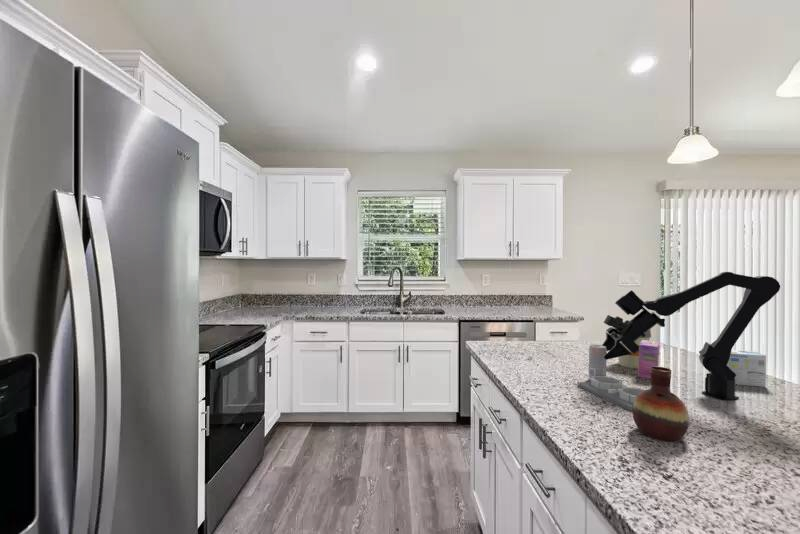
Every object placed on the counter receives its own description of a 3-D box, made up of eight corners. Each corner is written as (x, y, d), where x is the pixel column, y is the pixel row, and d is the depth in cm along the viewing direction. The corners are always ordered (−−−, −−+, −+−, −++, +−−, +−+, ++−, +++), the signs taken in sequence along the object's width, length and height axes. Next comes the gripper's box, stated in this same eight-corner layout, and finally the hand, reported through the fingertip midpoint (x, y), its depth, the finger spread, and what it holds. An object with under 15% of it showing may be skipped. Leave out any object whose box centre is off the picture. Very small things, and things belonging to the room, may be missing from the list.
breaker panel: (671, 408, 106) (671, 397, 106) (631, 411, 104) (631, 399, 104) (612, 384, 128) (612, 374, 128) (577, 385, 125) (578, 376, 125)
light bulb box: (754, 381, 133) (754, 350, 133) (766, 387, 127) (767, 355, 127) (717, 378, 136) (718, 348, 136) (728, 384, 130) (729, 352, 130)
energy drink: (602, 378, 134) (602, 344, 134) (608, 383, 128) (609, 348, 128) (586, 378, 134) (586, 344, 134) (592, 382, 129) (592, 347, 129)
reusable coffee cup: (606, 363, 156) (607, 326, 156) (627, 360, 161) (627, 324, 161) (637, 371, 144) (637, 331, 144) (657, 367, 150) (658, 329, 150)
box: (657, 380, 133) (657, 346, 133) (637, 377, 137) (638, 344, 137) (659, 373, 141) (659, 341, 141) (640, 370, 145) (641, 339, 145)
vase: (635, 420, 98) (636, 360, 98) (689, 432, 91) (691, 368, 91) (628, 434, 89) (629, 368, 89) (687, 449, 82) (689, 378, 82)
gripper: (613, 304, 138) (579, 333, 141) (628, 310, 120) (589, 342, 123) (637, 328, 136) (602, 356, 139) (656, 337, 118) (615, 369, 121)
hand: (601, 355), depth 131 cm, fingers open, 9 cm apart
